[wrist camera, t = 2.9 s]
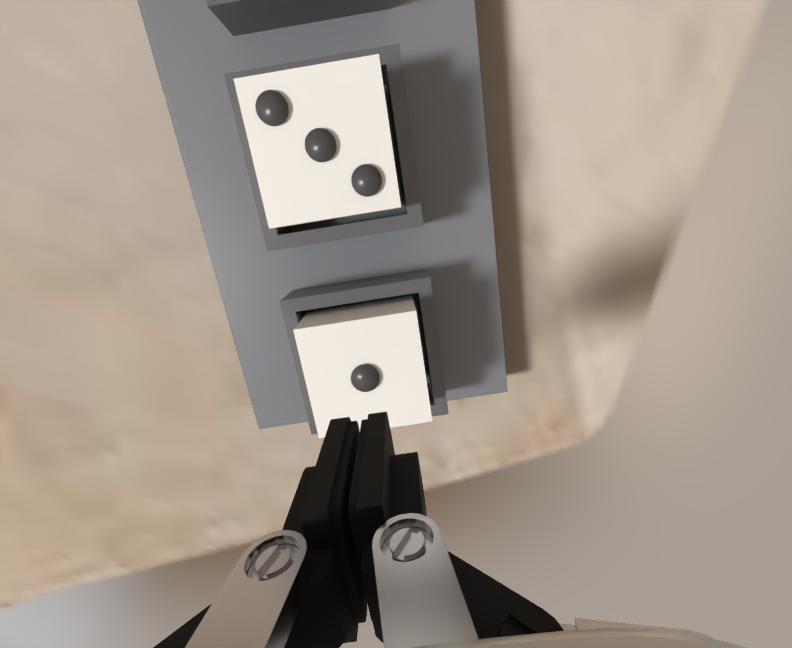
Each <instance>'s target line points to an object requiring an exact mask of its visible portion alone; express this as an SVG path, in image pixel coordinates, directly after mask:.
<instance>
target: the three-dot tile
mask: <svg viewBox="0 0 792 648" xmlns="http://www.w3.org/2000/svg"><path fill="white" fill-rule="evenodd" d="M234 84H235V88H236V92H237V96H238V100H239V105H240V109H241V113H242V117H243V121H244V126H245V130H246V134H247V138H248V142H249V147H250V151H251V155H252V159H253V163H254V168H255V172H256V176H257V180H258V184H259V189H260V193H261V197H262V201H263V205H264V210H265V214H266V218H267V222H268V226H269V229H270V228H278V227H286V226H293V225H299V224H305V223H311V222H317V221H324V220H330V219H336V218H342V217H348V216H354V215H361V214H367V213H373V212H379V211H385V210H391V209H398V208H401V202H400V195H399V189H398V182H397V175H396V168H395V161H394V154H393V147H392V141H391V134H390V127H389V120H388V113H387V106H386V99H385V93H384V86H383V79H382V72H381V65H380V58H379V54H375V55H369V56H363V57H357V58H352V59H346V60H340V61H334V62H328V63H322V64H317V65H311V66H305V67H299V68H293V69H287V70H282V71H276V72H270V73H264V74H258V75H252V76H247V77H241V78H235V79H234Z"/></svg>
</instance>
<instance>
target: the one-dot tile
mask: <svg viewBox="0 0 792 648" xmlns="http://www.w3.org/2000/svg"><path fill="white" fill-rule="evenodd" d="M293 331H294V336H295V340H296V344H297V348H298V352H299V357H300V361H301V365H302V369H303V373H304V378H305V382H306V386H307V390H308V394H309V399H310V403H311V407H312V411H313V415H314V420H315V424H316V428H317V432H318V436H319V438H324V437H325V435H326V432H327V429H328V426H329V423H330V420H331V419H338V418H345V417H350V419H351V421H357V422H358V426H359V431H360V428H361V421H362V420H365V419H368V414H372V413H379V412H386V411H387V414H388V419H389V425H390V428H391V427H398V426H405V425H411V424H418V423H425V422H431V421H432V415H431V408H430V401H429V394H428V388H427V381H426V374H425V367H424V360H423V353H422V346H421V340H420V333H419V326H418V319H417V312H416V308H415V305H414V301H413V298H412V296H405V297H399V298H393V299H386V300H380V301H374V302H367V303H361V304H355V305H348V306H342V307H335V308H329V309H323V310H316V311H310V312H307V313H306V315H305V316H304V317H303V318H302V320H301V321H300V322H299V323H298V324H297V326H296V327H295V328H294V329H293Z"/></svg>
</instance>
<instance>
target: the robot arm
mask: <svg viewBox="0 0 792 648" xmlns="http://www.w3.org/2000/svg"><path fill="white" fill-rule="evenodd" d="M367 603H368V607H369V612H370V616H371V620H372V621H373V625H374V630H375V634H376V637H377V638H378V639H379V640H380V641H381V642H383V643H384V648H745V647H742V646H739V645H736V644H732V643H728V642H724V641H720V640H716V639H714V638H712V637H710V636H708V635H706V634H702V633H698V632H694V631H690V630H683V629H673V628H664V627H655V626H645V625H636V624H626V623H617V622H607V621H599V620H589V619H580V618H575V625H569V624H559V623H558V622H557V621H556V619H555V618H554V617H552V616H551V615H550V614H549V613H547V612H546V611H545V610H543V609H542V608H540V607H539V606H537V605H535V604H534V603H532V602H530V601H529V600H527V599H526V598H524V597H522V596H521V595H519V594H517V593H515V592H514V591H512V590H511V589H509V588H507V587H506V586H504V585H503V584H501V583H499V582H498V581H496V580H494V579H493V578H491V577H489V576H488V575H486V574H484V573H483V572H481V571H480V570H478V569H476V568H475V567H473V566H471V565H470V564H468V563H466V562H465V561H463V560H462V559H460V558H458V557H457V556H455V555H453V554H451V553H450V552H448V551H447V549H446V546H445V543H444V540H443V537H442V534H441V531H440V529H439V528H438V526H437V524H436V523H435V522H434V521H433V520H431V519H430V518H429V517H427V515H426V506H425V498H424V491H423V484H422V477H421V471H420V465H419V459H418V453H417V452H413V453H406V454H399V455H395V453H394V447H393V442H392V436H391V431H390V425H389V419H388V414H387V411H386V412H379V413H372V414H368V419H365V420H362V421H361V428H360V431H359V426H358V422H357V421H351V419H350V417H345V418H338V419H331V420H330V423H329V426H328V429H327V432H326V435H325V438H324V441H323V445H322V448H321V451H320V454H319V457H318V460H317V463H316V466H314V467H307V468H305V470H304V471H303V474H302V477H301V480H300V482H299V485H298V488H297V491H296V493H295V496H294V499H293V502H292V505H291V507H290V510H289V513H288V516H287V518H286V521H285V524H284V527H283V530H282V531H276V532H273V533H270V534H268V535H265V536H264V537H262V538H260V539H259V540H257V541H256V542H254V543H253V544H252V545H251V546H250V547H248V548H247V550H246V551H245V552H244V554H243V555H242V556H241V558H240V559H239V561H238V563H237V564H236V566H235V567H234V569H233V570H232V572H231V574H230V575H229V577H228V579H227V580H226V582H225V583H224V585H223V587H222V589H221V590H220V592H219V593H218V595H217V597H216V598H215V600H214V601H213V603H212V604H211V605H209V606H208V607H207V608H205V609H204V610H203V611H201V612H200V613H199V614H197V615H196V616H195V617H193V618H192V619H191V620H190V621H188V622H187V623H185V624H184V625H183V626H181V627H180V628H179V629H177V630H176V631H175V632H173V633H172V634H171V635H169V636H168V637H167V638H165V639H164V640H163V641H162V642H160V643H159V644H158V645H156V646H155V647H154V648H339V647H340V646H341V645H342V644H343V643H347V642H355V641H357V632H358V623H362V622H365V621H366V616H367Z"/></svg>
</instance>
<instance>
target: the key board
mask: <svg viewBox="0 0 792 648" xmlns="http://www.w3.org/2000/svg"><path fill="white" fill-rule="evenodd" d="M138 4H139V7H140V11H141V14H142V18H143V22H144V25H145V29H146V32H147V36H148V39H149V43H150V46H151V50H152V53H153V57H154V60H155V64H156V67H157V71H158V74H159V78H160V81H161V85H162V89H163V92H164V96H165V99H166V103H167V106H168V110H169V113H170V117H171V120H172V124H173V127H174V131H175V134H176V138H177V141H178V145H179V148H180V152H181V156H182V159H183V163H184V166H185V170H186V173H187V177H188V180H189V184H190V187H191V191H192V194H193V198H194V201H195V205H196V208H197V212H198V215H199V219H200V222H201V226H202V230H203V233H204V237H205V240H206V244H207V247H208V251H209V254H210V258H211V261H212V265H213V268H214V272H215V275H216V279H217V282H218V286H219V289H220V293H221V297H222V300H223V304H224V307H225V311H226V314H227V318H228V321H229V325H230V328H231V332H232V335H233V339H234V342H235V346H236V349H237V353H238V356H239V360H240V364H241V367H242V371H243V374H244V378H245V381H246V385H247V388H248V392H249V395H250V399H251V402H252V406H253V409H254V413H255V416H256V420H257V423H258V427H259V429H263V428H269V427H276V426H283V425H289V424H296V423H303V422H309V426H310V430H311V434H318V432H317V428H316V424H315V420H314V415H313V411H312V407H311V403H310V399H309V394H308V390H307V386H306V382H305V378H304V373H303V369H302V365H301V361H300V357H299V352H298V348H297V344H296V340H295V336H294V331H293V329H294V328H295V327H296V326H297V324H298V323H299V322H300V321H301V320H302V318H303V317H304V316H305V315H306V313H307V312H310V311H316V310H323V309H329V308H335V307H342V306H348V305H355V304H361V303H367V302H374V301H380V300H386V299H393V298H399V297H405V296H412V298H413V301H414V305H415V308H416V312H417V319H418V326H419V333H420V340H421V346H422V353H423V360H424V367H425V374H426V381H427V388H428V394H429V401H430V408H431V415H432V416H438V415H445V414H448V406H447V401H449V400H455V399H462V398H469V397H475V396H482V395H488V394H495V393H502V392H508V390H507V378H506V366H505V354H504V343H503V331H502V319H501V307H500V295H499V283H498V272H497V260H496V248H495V236H494V224H493V213H492V201H491V189H490V177H489V165H488V154H487V142H486V130H485V118H484V106H483V95H482V83H481V71H480V59H479V47H478V36H477V24H476V12H475V0H138ZM375 54H379V58H380V65H381V72H382V79H383V86H384V93H385V99H386V106H387V113H388V120H389V127H390V134H391V141H392V147H393V154H394V161H395V168H396V175H397V182H398V189H399V195H400V202H401V208H398V209H391V210H385V211H379V212H373V213H367V214H361V215H354V216H348V217H342V218H336V219H330V220H324V221H317V222H311V223H305V224H299V225H293V226H286V227H278V228H270V229H269V226H268V222H267V218H266V214H265V210H264V205H263V201H262V197H261V193H260V189H259V184H258V180H257V176H256V172H255V168H254V163H253V159H252V155H251V151H250V147H249V142H248V138H247V134H246V130H245V126H244V121H243V117H242V113H241V109H240V105H239V100H238V96H237V92H236V88H235V84H234V79H235V78H241V77H247V76H252V75H258V74H264V73H270V72H276V71H282V70H287V69H293V68H299V67H305V66H311V65H317V64H322V63H328V62H334V61H340V60H346V59H352V58H357V57H363V56H369V55H375Z"/></svg>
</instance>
